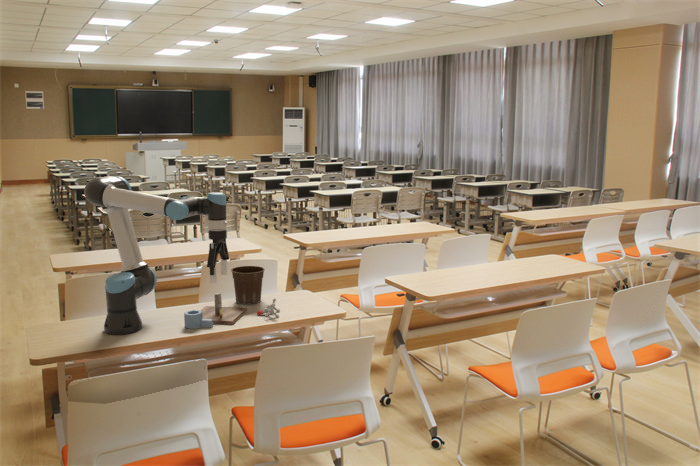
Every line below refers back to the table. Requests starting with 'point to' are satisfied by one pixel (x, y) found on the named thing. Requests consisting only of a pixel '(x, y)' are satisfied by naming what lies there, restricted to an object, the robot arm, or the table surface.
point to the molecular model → (269, 310)
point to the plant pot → (248, 283)
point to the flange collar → (196, 320)
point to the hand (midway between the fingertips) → (218, 278)
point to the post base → (228, 313)
